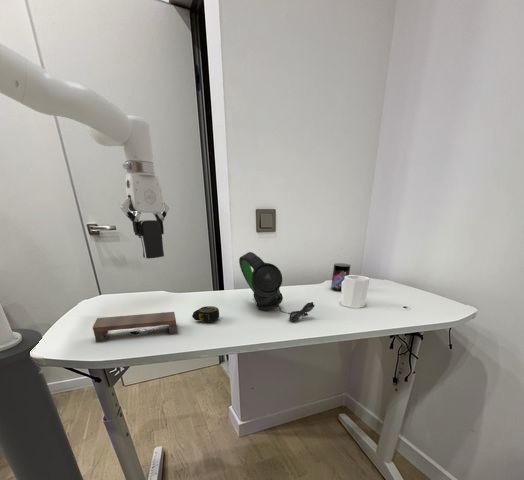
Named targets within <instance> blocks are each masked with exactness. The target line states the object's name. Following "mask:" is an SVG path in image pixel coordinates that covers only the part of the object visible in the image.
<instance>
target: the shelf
mask: <svg viewBox="0 0 524 480" xmlns="http://www.w3.org/2000/svg"><path fill="white" fill-rule="evenodd" d="M177 325H178V324H177V318H176V313H175V311H165V312H153V313H141V314H140V313H139V314H129V315H117V316H105V317H96V320H95V321H94V323H93V326H92V332H93V335H94V340H95V342H96V343H104V342H106V339H107V336H108V333H109V331H119V330H120V331H121V330H130V329H140V328H152V327H161V326H168V331H169V335H177V334H178V326H177Z"/></svg>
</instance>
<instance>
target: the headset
mask: <svg viewBox="0 0 524 480" xmlns="http://www.w3.org/2000/svg"><path fill="white" fill-rule="evenodd" d="M238 265H239V268H240V271H241V273H242V276H243V277H244V279H245V282H246V283H247V285H248V286H249V288H250V290H251V291H252V292H253V295H252V296H253V299H254V302H255V306H256V308H257V309H258V310H260V311H269V310H272V309H274V308H275V309H277V308H278V309H279V312H280V313H283V314H287V315H289V317H288V321H290V322H297V321H298V320H299V319H300V318H303V317H308V316H309V314H308V313H309V312H311V311H312V310H313V309H314V308H315V304H314V302H313V301H311V302H307V303H306V304H305V305H304V306H303V307H302V309H300V310H294V311H291V312H287V311H283V310H281V307H280V304H281V303H282V302H283V300H284V296H283V294H282V292H281V290H280V288H281V286H282V284H283V274H282V272H281V270H280V269H279V267H277V266H276V265H274V264H273V263H270V262H264V260H263V259H262V258H261V257H260V256H258V255H257V254H256V253H255V252H252V251H249V252H248V251H247V253H245V254H243V255H242V256H240V257H239V258H238Z"/></svg>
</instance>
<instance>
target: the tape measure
mask: <svg viewBox="0 0 524 480" xmlns="http://www.w3.org/2000/svg"><path fill="white" fill-rule="evenodd" d="M191 317H192V319H193V320H194V321H197V322H198V321H199V322H203V323H212V322H216V321H218V320H219V318H220V309H219V308H218V307H217V306H213V305H209V306H202V307H199V308H198V309H197V310H194V311H193V313H192V314H191Z"/></svg>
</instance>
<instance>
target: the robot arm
mask: <svg viewBox="0 0 524 480" xmlns="http://www.w3.org/2000/svg"><path fill="white" fill-rule="evenodd" d="M0 94H2V95H4V96H6V97H8V98H10V99H12V100H13V101H16V102H18V103H19V104H22V105H23V106H25V107H27V108H29V109H31V110H33V111H35V112H37V113H41V114H44V115H46V116H53V117H60V118H65V119H69V120H72V121H75V122H78V123H80V124H83V125H85V126H86V129H87V132H88V134H89V136H90V137H91V138H92V140H93V141H94V142H96V143H97V144H99V145H101V146H104V147H123V151H124V158H125V159H124V160H125V163H122V168H123V169H124V170H126V172H127V173H125V194H126V199H125V201H123V203H122V204H121V205H120V206H119V209H120V210H121V211H122V212H123V213H124V214H125V216H126V218H128V219H129V220H130V222H132V229H133V232H134V235H135V236H137V237H139V236H142V235H143V234H142V227H141V222H139V221H140V217H141V214H142V213H146V214H147V213H151V214H153V216H154V218H155V220H157V221H158V222H159V223H160V225H161V231H162V235H164V234H165V232H164V221H165V219H166V216H167V213H168V212H169V210H170V207H169V206H168V205H167V204H166V203H165V201H164V197H163V192H162V187H161V183H160V180H159V176H156V171H155V163H154V156H153V155H154V153H153V146H152V139H151V137H152V136H151V129H150V124H149V122H148V120H147V119H146V118H144V117H142V116H138V115H131V114H129V115H127V114H126V113H125V111H124V110H123V109H122V108H121V107H119V106H118V105H117V104H116V103H114V102H113V101H111V100H109V99H108V98H106V97H105V96H103V95H101V94H100V93H98V92H96V91H94V90H93V89H91V88H89V87H88V86H85V85H83V84H81V83H79V82H77V81H74V80H72V79H69V78H67V77H65V76H62V75H60V74H57V73H56V72H52V71H50V70H47V69H46V68H43V67H42V66H40V65H38V64H36V63H35V62H33V61H32V60H29V59H28V58H26V57H25V56H23V55H22V54H20V53H18V52H16V51H15V50H13V49H12V48H10V47H8V46H7V45H5V44H3V43H2V42H0ZM11 329H12V328H11V325H10V323H9V320H8V318H7V315H6V312H5V311H4V309H3V306H2V303H1V302H0V352H1V351H4V350H7V349H10V348H12V347H14V346H16V345H18V344H19V343H20V342H21V341H22V336H21V334H19V333H17V332H12V330H11Z"/></svg>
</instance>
